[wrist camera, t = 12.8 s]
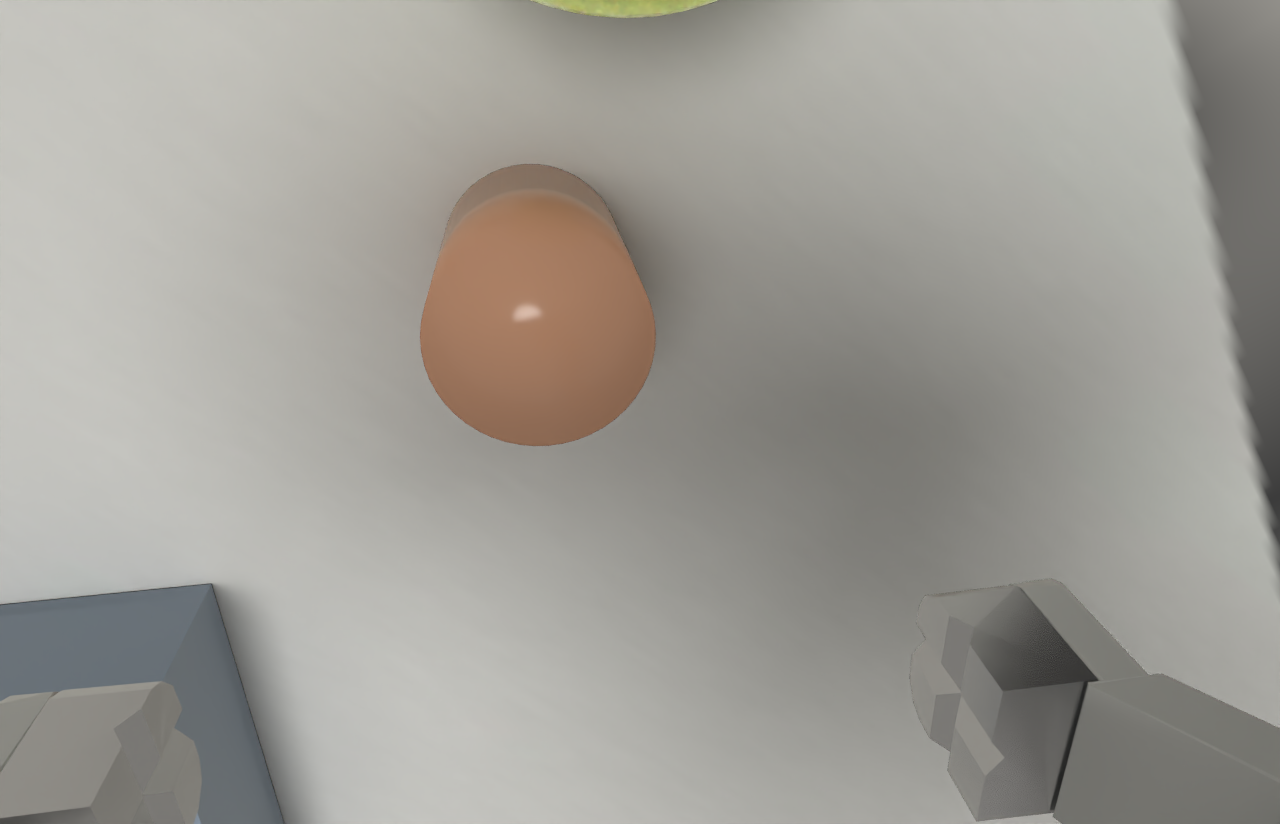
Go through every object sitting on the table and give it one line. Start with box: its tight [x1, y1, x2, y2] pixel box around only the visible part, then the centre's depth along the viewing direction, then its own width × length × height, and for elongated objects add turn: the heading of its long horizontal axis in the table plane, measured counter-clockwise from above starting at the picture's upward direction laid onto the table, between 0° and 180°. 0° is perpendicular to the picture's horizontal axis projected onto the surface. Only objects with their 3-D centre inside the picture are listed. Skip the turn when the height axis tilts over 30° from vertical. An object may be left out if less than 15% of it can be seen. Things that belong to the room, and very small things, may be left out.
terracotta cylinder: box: [420, 164, 656, 446], centre depth 22 cm, size 5×5×7 cm
